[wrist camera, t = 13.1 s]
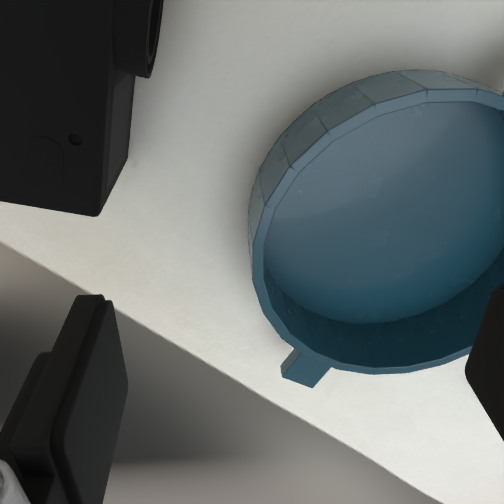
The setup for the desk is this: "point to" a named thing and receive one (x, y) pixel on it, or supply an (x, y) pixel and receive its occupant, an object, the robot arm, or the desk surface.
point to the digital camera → (70, 97)
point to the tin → (382, 225)
